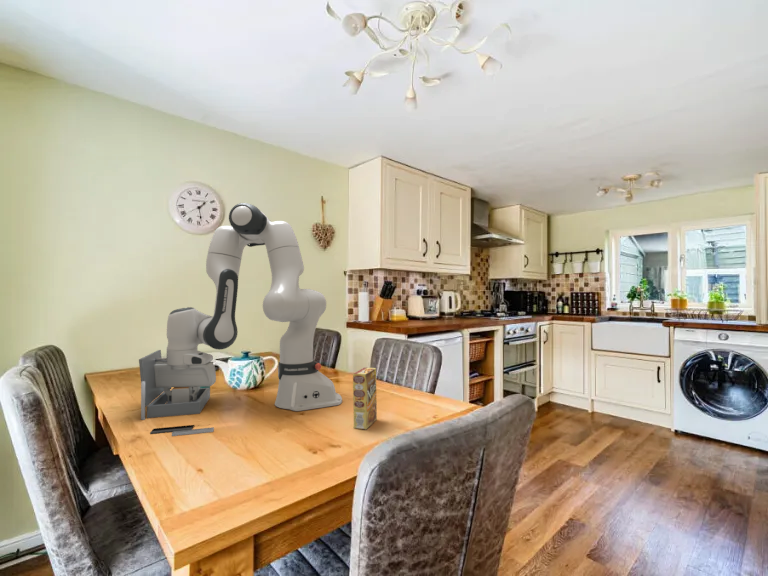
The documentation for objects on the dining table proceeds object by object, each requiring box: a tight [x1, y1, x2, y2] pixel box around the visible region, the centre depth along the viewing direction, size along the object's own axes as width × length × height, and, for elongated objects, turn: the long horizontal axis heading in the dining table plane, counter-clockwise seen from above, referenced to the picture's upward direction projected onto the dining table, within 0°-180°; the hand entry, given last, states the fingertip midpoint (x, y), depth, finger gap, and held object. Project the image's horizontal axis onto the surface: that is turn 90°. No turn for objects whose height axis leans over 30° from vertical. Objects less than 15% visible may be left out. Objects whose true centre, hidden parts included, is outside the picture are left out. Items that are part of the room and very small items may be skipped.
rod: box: [171, 426, 215, 437], centre depth 99 cm, size 10×1×1 cm, turn 106°
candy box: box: [352, 367, 378, 430], centre depth 106 cm, size 9×4×15 cm, turn 162°
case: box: [140, 381, 211, 421], centre depth 118 cm, size 15×20×12 cm
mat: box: [149, 424, 195, 435], centre depth 105 cm, size 10×10×1 cm
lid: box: [138, 349, 164, 408], centre depth 116 cm, size 14×18×1 cm
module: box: [171, 387, 192, 403], centre depth 119 cm, size 5×4×6 cm
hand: (182, 400), depth 119 cm, fingers closed on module, 5 cm apart
